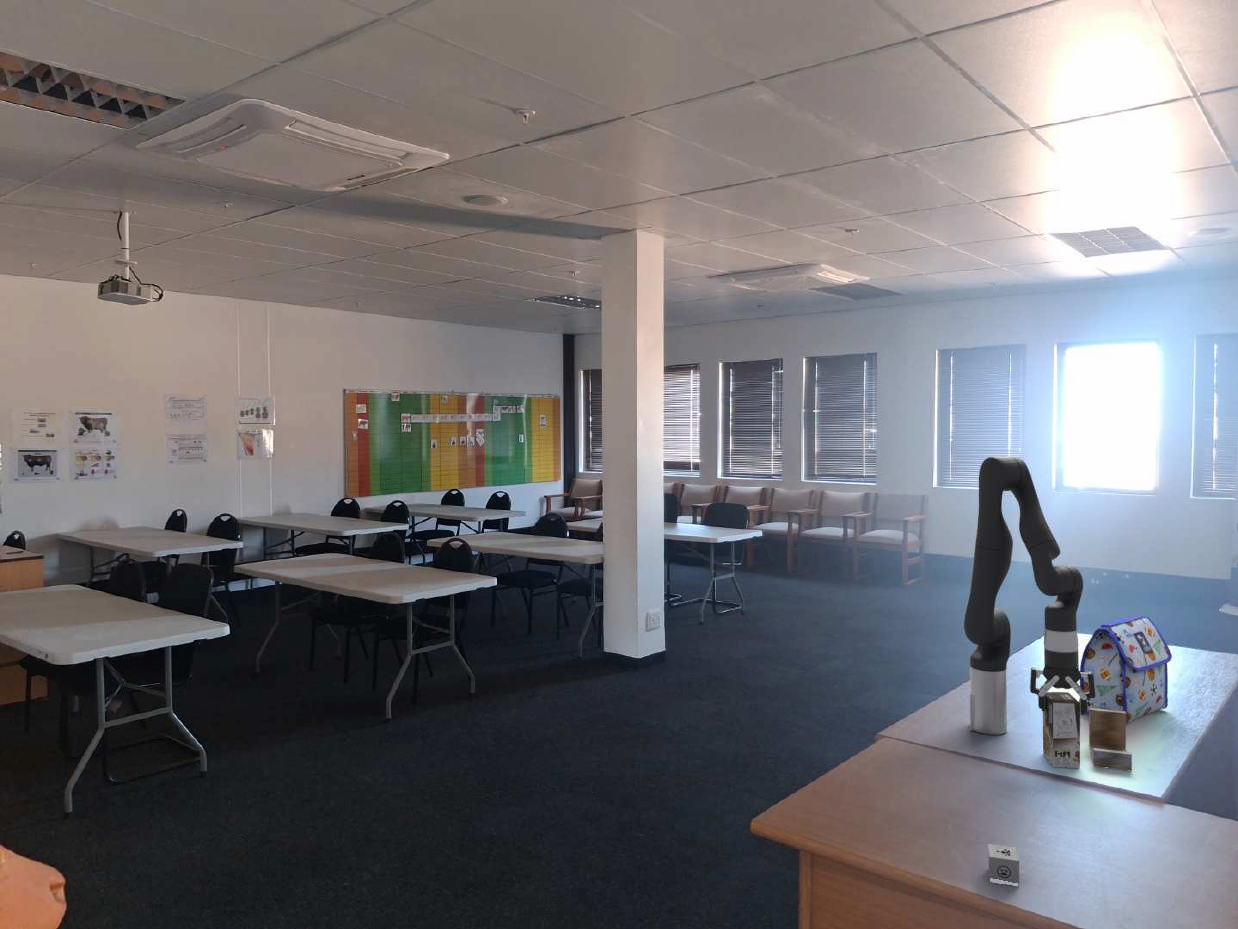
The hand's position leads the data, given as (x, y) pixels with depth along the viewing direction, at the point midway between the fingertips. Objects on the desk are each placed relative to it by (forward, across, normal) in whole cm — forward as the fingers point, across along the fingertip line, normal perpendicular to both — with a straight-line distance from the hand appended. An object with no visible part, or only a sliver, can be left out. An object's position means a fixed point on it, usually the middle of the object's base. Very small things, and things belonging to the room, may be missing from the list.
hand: (1062, 712), depth 212 cm
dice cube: (+13, -13, -64) cm, 66 cm away
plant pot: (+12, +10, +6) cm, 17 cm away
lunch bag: (+12, +18, +44) cm, 49 cm away
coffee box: (+12, 0, 0) cm, 13 cm away
